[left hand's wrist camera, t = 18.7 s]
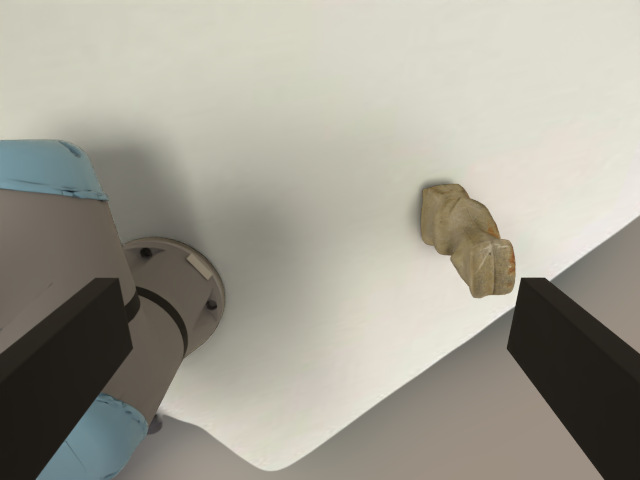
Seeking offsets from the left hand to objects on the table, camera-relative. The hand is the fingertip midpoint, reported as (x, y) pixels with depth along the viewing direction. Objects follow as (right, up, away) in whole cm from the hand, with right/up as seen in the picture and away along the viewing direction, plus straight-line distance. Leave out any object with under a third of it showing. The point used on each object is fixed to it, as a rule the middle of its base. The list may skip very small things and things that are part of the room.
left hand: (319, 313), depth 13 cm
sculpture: (+13, +6, +31) cm, 34 cm away
